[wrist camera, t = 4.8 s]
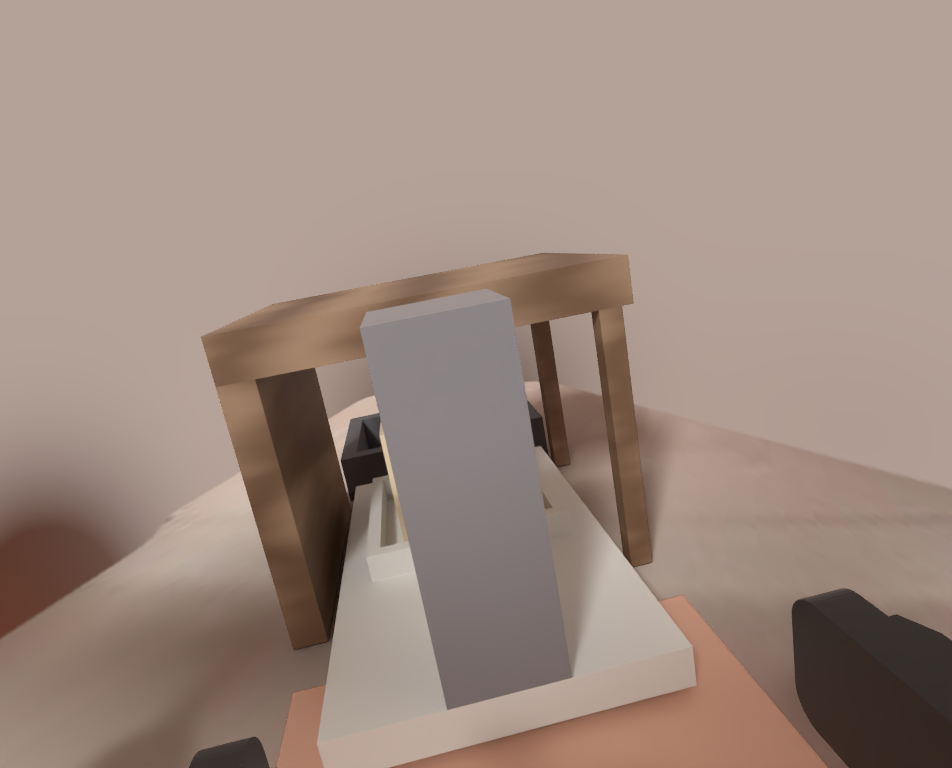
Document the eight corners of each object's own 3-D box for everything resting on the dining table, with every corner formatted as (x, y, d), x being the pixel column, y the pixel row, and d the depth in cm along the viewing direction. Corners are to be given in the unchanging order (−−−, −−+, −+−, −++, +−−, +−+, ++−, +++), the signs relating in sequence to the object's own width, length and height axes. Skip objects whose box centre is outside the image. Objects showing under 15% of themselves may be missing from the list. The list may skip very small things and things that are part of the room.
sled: (328, 783, 18) (201, 358, 15) (361, 508, 37) (309, 297, 34) (696, 685, 19) (653, 270, 16) (544, 467, 39) (510, 258, 35)
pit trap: (350, 500, 40) (340, 460, 40) (358, 452, 50) (350, 419, 49) (548, 456, 42) (542, 416, 41) (519, 417, 51) (513, 385, 51)
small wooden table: (293, 649, 26) (201, 336, 22) (327, 512, 39) (272, 304, 36) (662, 559, 27) (628, 254, 24) (573, 457, 41) (542, 253, 37)
